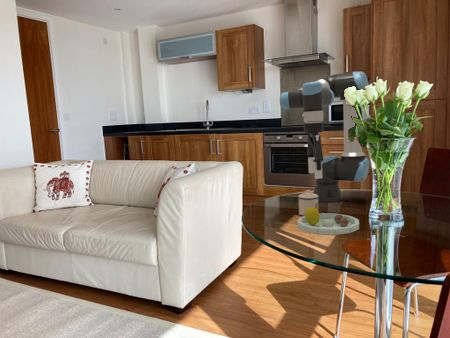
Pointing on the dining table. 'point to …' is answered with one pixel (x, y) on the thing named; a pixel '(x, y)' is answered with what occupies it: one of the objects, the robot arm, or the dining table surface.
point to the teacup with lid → (307, 201)
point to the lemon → (312, 215)
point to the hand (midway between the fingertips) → (315, 175)
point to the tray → (329, 225)
